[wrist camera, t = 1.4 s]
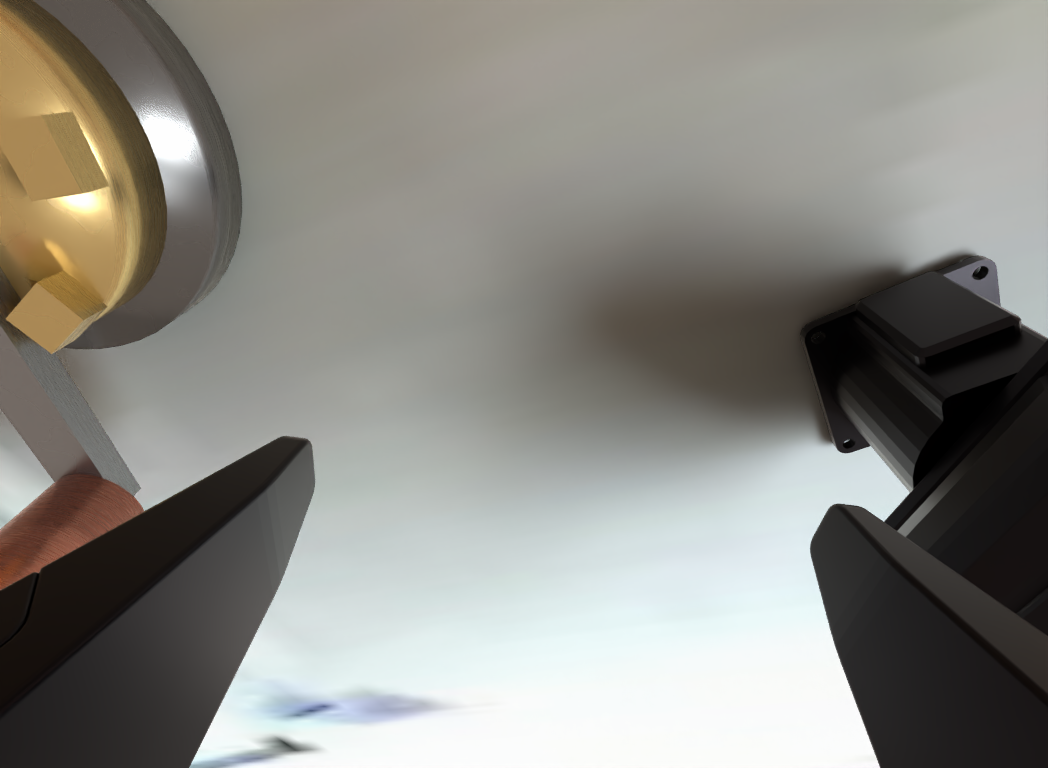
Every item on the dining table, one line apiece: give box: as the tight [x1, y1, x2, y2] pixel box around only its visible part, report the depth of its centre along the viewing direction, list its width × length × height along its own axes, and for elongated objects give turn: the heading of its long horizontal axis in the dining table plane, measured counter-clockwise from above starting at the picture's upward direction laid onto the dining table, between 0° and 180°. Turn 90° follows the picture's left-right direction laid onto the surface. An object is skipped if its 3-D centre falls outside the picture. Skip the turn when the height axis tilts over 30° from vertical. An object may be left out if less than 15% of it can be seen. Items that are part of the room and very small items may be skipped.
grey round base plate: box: [33, 0, 242, 349], centre depth 18 cm, size 13×13×2 cm
